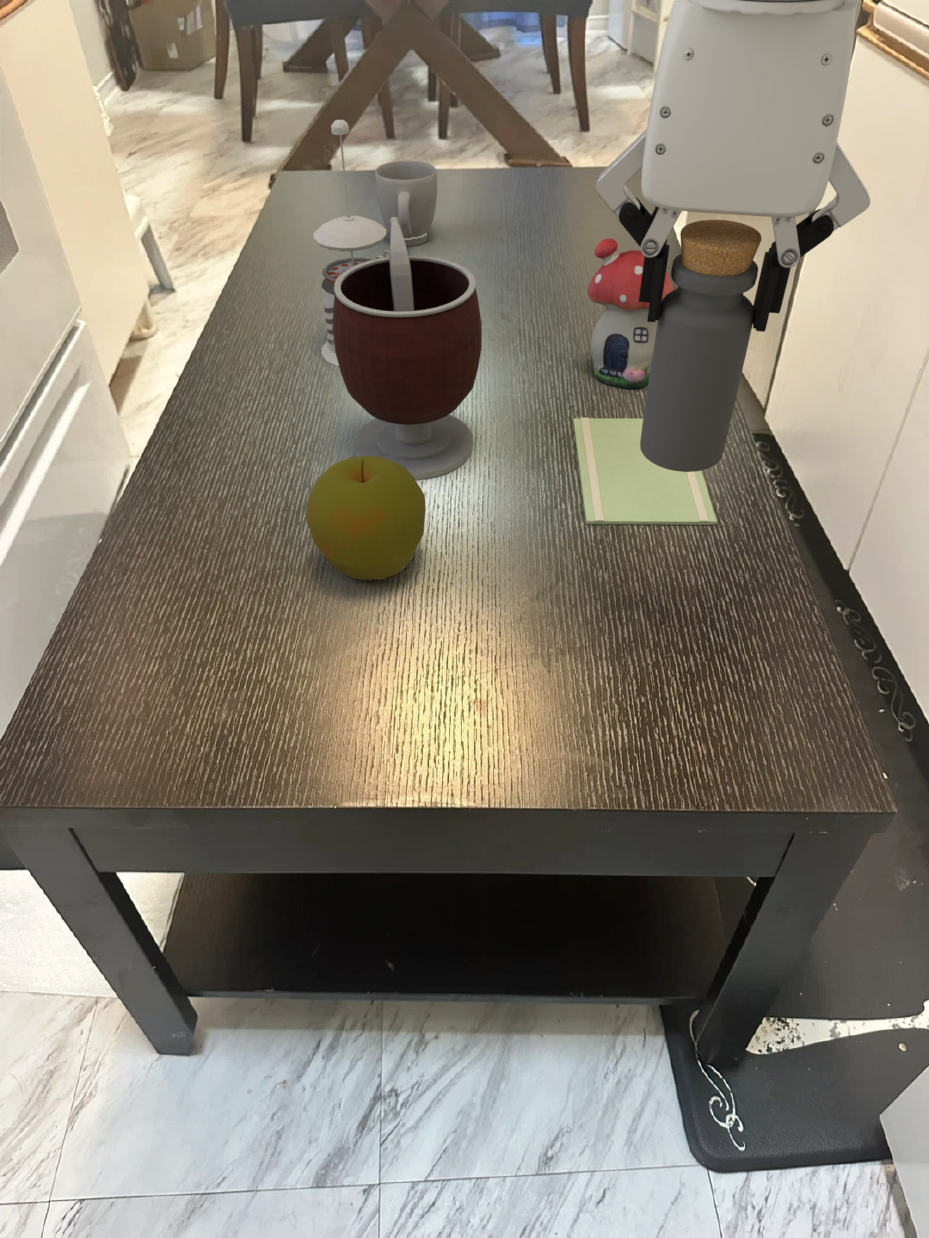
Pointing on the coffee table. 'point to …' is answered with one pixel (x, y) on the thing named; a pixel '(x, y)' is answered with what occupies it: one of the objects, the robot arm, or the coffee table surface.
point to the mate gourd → (409, 355)
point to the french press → (343, 249)
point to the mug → (407, 196)
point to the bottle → (700, 346)
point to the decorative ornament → (622, 318)
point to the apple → (366, 517)
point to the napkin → (634, 479)
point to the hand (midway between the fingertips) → (706, 314)
